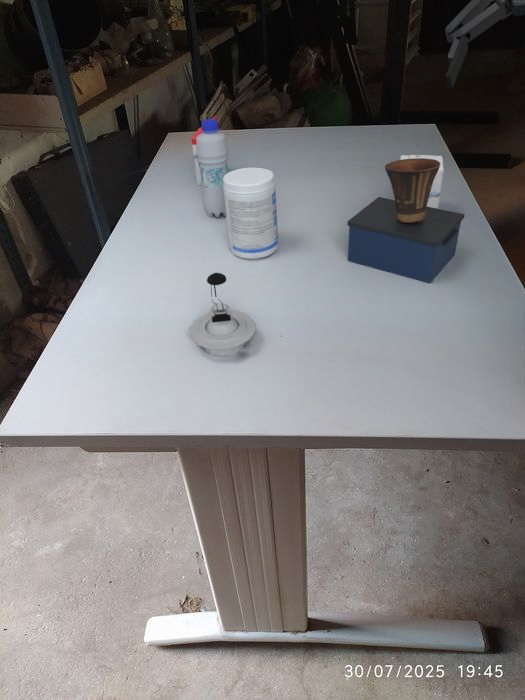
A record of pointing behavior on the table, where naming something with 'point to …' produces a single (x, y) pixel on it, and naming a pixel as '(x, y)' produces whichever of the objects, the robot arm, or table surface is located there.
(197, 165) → the spray bottle
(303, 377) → the table surface
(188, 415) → the table surface
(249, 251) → the supplement tub
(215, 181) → the bottle
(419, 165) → the cup
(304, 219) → the table surface
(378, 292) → the table surface
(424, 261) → the storage box
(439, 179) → the ink box
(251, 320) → the round stand with stem
